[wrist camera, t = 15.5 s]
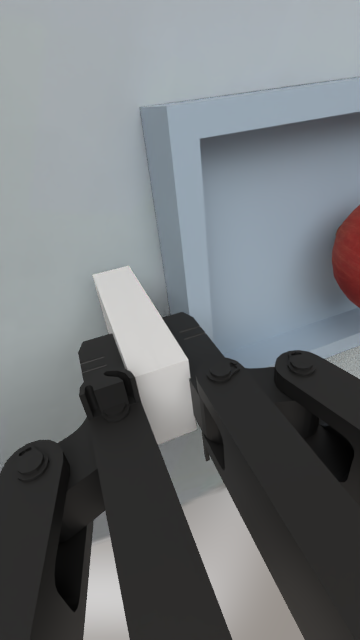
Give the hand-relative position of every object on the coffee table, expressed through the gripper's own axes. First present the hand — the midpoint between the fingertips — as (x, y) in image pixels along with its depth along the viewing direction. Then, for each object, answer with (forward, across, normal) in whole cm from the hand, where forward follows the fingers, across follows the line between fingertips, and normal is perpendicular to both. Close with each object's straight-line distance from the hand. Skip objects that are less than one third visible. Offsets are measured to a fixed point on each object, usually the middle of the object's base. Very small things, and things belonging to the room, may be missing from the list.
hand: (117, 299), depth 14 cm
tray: (+2, +11, 0) cm, 11 cm away
